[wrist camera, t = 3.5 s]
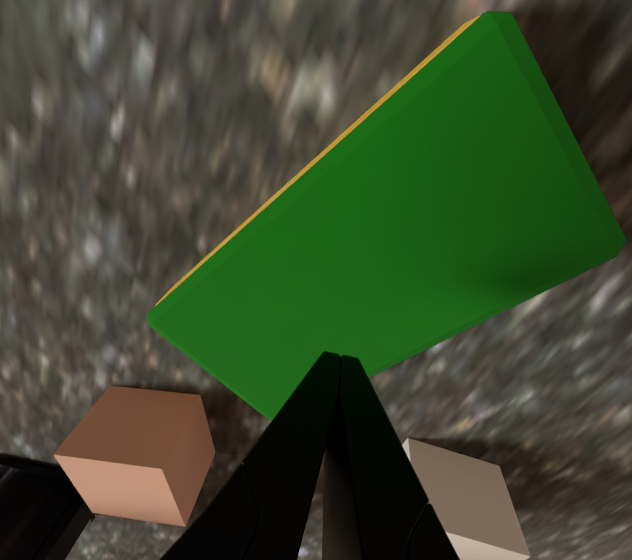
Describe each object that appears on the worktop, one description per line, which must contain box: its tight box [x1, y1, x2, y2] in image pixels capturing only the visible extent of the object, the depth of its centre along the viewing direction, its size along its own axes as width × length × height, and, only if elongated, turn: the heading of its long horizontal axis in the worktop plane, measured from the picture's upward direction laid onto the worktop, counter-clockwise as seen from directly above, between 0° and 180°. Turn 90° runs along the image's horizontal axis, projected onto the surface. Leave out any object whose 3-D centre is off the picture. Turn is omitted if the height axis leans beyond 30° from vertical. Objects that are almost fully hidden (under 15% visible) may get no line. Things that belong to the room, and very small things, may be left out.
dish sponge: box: [146, 11, 626, 420], centre depth 12 cm, size 7×14×2 cm, turn 132°
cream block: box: [402, 438, 531, 560], centre depth 17 cm, size 5×5×4 cm
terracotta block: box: [53, 386, 215, 527], centre depth 17 cm, size 5×5×4 cm
